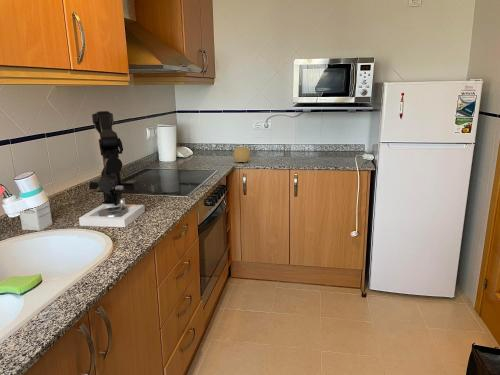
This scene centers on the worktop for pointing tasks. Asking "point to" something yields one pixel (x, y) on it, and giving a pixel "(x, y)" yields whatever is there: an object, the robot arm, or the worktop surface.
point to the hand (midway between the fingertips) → (116, 205)
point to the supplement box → (37, 217)
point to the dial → (114, 210)
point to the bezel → (123, 221)
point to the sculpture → (241, 154)
